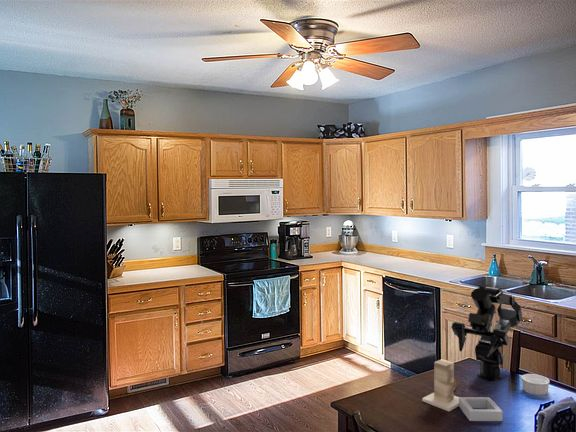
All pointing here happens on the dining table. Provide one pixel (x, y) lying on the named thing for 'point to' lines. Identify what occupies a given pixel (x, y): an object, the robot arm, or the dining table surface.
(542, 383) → the ramekin
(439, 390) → the peg
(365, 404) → the dining table surface
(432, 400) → the tile
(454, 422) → the dining table surface
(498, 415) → the holder
